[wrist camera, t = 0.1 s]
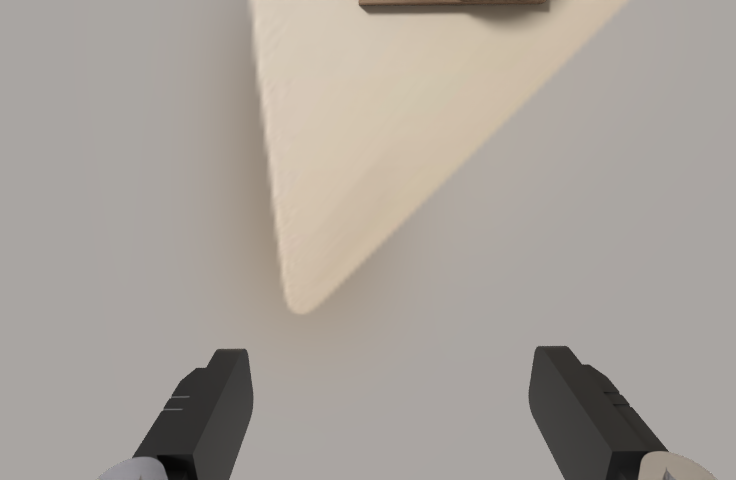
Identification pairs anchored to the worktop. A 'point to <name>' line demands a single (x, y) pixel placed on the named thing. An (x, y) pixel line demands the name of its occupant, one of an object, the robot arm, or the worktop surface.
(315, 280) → the worktop surface
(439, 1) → the gear board
